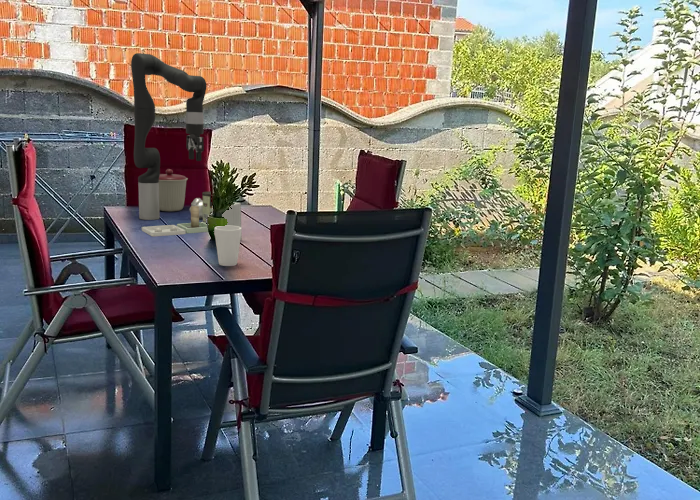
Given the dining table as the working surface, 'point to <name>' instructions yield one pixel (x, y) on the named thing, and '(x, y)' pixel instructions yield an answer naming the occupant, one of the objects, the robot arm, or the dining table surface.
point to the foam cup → (227, 244)
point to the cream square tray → (165, 230)
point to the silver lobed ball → (199, 203)
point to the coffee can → (207, 205)
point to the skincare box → (233, 215)
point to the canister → (171, 191)
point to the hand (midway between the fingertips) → (195, 160)
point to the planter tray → (193, 230)
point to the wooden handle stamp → (194, 217)
